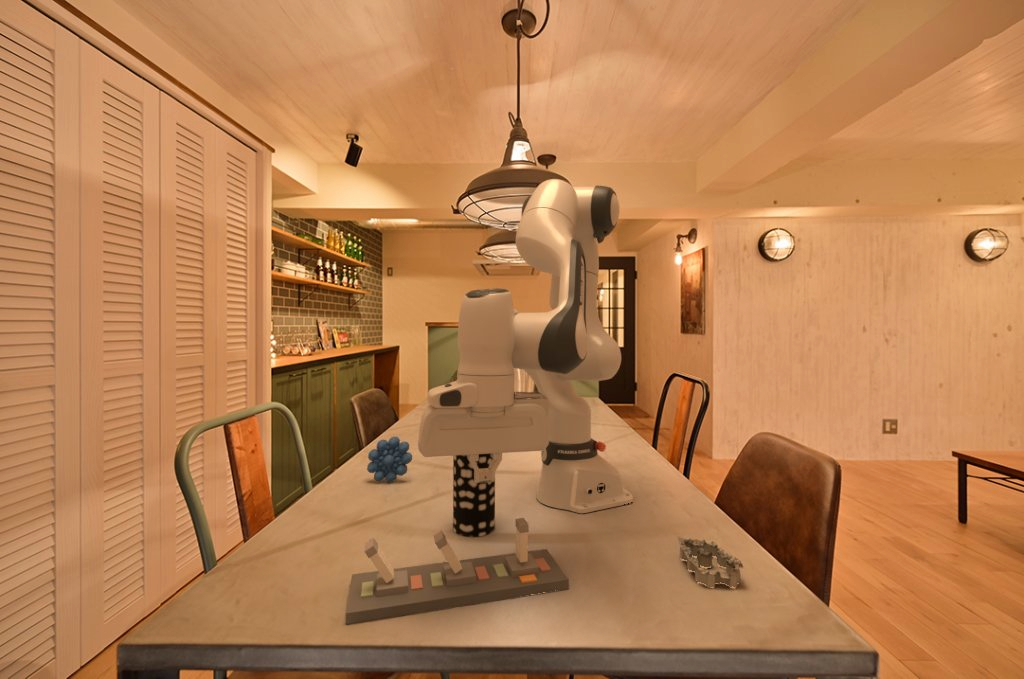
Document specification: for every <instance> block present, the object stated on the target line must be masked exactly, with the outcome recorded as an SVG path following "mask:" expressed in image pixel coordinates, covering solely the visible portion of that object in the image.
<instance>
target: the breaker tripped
mask: <svg viewBox="0 0 1024 679" xmlns="http://www.w3.org/2000/svg"><path fill="white" fill-rule="evenodd" d="M529 526H530V525H529V523H528V522H527V520H526V519H525V517H520V518H515V528H516V529H515V534H516V535H515V538H516V539H515V540H516V541H515V542H516V543H515V545H516V546H515V553H516V556H517V557H518V559H519V561H520V562H527V561H528V551H529V550H528V549H529V547H528V545H529V541H528V539H529V538H528V536H529V532H530V531H529V530H530V529H529V528H530V527H529Z"/></svg>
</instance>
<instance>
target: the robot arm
mask: <svg viewBox="0 0 1024 679" xmlns="http://www.w3.org/2000/svg"><path fill="white" fill-rule="evenodd" d="M620 210H621V208H620V202H619V199H618V196H617V193H616V192H615V190H614V189H613V188H612V187H610V186H607V185H595V186H572V184H570V183H569V182H567V181H565V180H562V179H558V178H552V179H546V180H544V181H542V182H541V183H539V184H538V186H537V187H536V188H535V189H534V191H533V193H532V194H530V195H529V196H527V198H525V200H524V201H523V203H522V207H521V217H520V220H519V223H518V226H517V229H516V234H515V246H516V249H517V252H518V254H519V256H520V258H522V260H523V261H524V262H525V263H526V264H528V265H529V266H530V267H531V268H533V269H534V270H536V271H539V272H542V273H545V274H550V275H551V279H550V289H549V290H550V291H549V301H548V302H549V306H550V309H551V310H549V311H546V312H545V311H544V312H522V311H521V312H519V310H517V309H515V308H514V302H513V297H512V292H511V291H510V290H508V289H505V288H497V287H496V288H486V289H485V288H484V289H475V290H471V291H468V292H467V293H465V294H464V295H463V297H462V301H461V305H460V308H459V309H460V310H459V316H458V324H457V326H458V327H457V328H458V329H457V347H458V351H459V356H460V357H459V364H458V367H457V371H456V372H457V374H456V375H457V376H456V378H457V379H456V380H455V381H451V382H448V383H445V384H443V385H442V384H441V385H439V386H435V387H433V388H430V389H429V390H428V392H427V402H428V404H429V405H427V406H426V407H425V408H424V410H423V412H422V414H421V419H420V423H419V430H418V440H417V441H418V444H417V446H418V452H420V454H421V455H422V457H425V458H432V457H433V458H435V457H453V456H455V455H467V458H468V460H469V462H470V464H471V465H472V467H473V469H474V481H475V483H483V482H494V481H495V482H496V471H497V469H498V468H499V466H500V464H501V462H502V461H503V454H507V453H524V452H525V453H527V452H540V458H541V462H542V466H541V467H542V468H541V474H540V481H539V485H538V489H537V493H536V496H535V497H536V499H537V501H538V502H539V503H541V504H543V505H545V506H548V507H551V508H555V509H560V510H567V511H571V512H574V513H578V514H587V513H591V512H595V511H596V512H597V511H600V510H605V509H609V508H614V507H619V506H625V505H628V503H629V504H632V503H631V502H634V498H633V497H634V496H633V494H632V493H631V492H630V491H629V490H628V489H627V488H625V487H624V486H623V480H622V476H621V473H620V471H619V470H618V469H617V468H616V467H614V466H613V465H612V464H611V463H609V461H607V460H606V459H605V458H604V457H602V456H601V455H600V454H598V453H599V452H603V453H604V452H605V451H606V449H607V445H606V444H605V443H604V442H602V441H597V440H595V439H594V438H592V437H591V436H592V435H591V433H592V428H591V427H592V409H591V406H590V404H589V402H588V401H587V400H586V399H585V398H583V397H582V396H580V395H579V394H578V392H577V391H576V390H575V387H574V386H573V382H572V381H578V382H579V381H580V382H589V383H591V382H592V383H593V382H601V381H606V380H610V379H612V378H614V377H615V375H617V373H618V371H619V369H620V366H621V364H622V352H621V348H620V346H619V344H618V343H617V341H616V340H615V339H614V338H613V337H612V336H611V335H610V334H608V331H606V330H605V328H604V327H603V324H602V323H601V320H600V318H599V317H600V316H599V312H598V283H599V272H600V270H599V269H600V261H599V259H600V258H599V247H598V244H601V243H603V242H604V240H605V238H606V237H608V236H609V235H611V233H612V232H613V230H614V229H615V228H616V226H617V223H618V220H619V216H620ZM515 369H519V370H523V371H524V372H525V373H526V374H527V375H528V376H529V377H530V378H531V380H532V382H533V383H534V384H535V387H536V389H537V391H515ZM598 451H599V452H598ZM479 454H490V456H491V457H492V458H493V460H492V462H491V463H490V465H489V467H488V468H483V469H479V468H478V466H477V465H476V463H475V461H478V460H479ZM624 504H625V505H624Z"/></svg>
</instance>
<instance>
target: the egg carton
mask: <svg viewBox="0 0 1024 679" xmlns="http://www.w3.org/2000/svg"><path fill="white" fill-rule="evenodd" d="M677 540H678V544H679V559H680V558H681V559H684V560H687V563H686V569H687V568H688V569H689V570H692V571H695V574H694V580H695V579H696V580H697V582H701V583H704V584H706V585H707V586H708V587H715V588H716V585H715V583H720V582H721V583H725V584H727V585H729V586H730V587H732V586H733V587H738V585H737V583H739V582H741V576H742V575H741V571H740V569H744V565H743V563H742V560H739V558H737V557H736V556H732V555H730V554H729V552H728V551H726V550H724V549H722V548H721V547H719V546H718V544H717V543H716V542H715V541H711V542H706V539H702V540H699V539H692V538H691V537H689V539H688V538H687V539H686V538H684V537H680V536H678V537H677ZM692 555H693V556H697V558H694V557H692ZM712 556H716V557H717V559H716V564H717V563H718V564H719V565H720V566H723V567H726V569H725V572H723V571H719V570H716V571H715V572H714V573H715V574H710V573H711V572H710V570H708V569H705V568H700V565H701V566H704V567H710V566H712V567H713V564H712V563H713V558H712Z"/></svg>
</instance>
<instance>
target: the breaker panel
mask: <svg viewBox="0 0 1024 679" xmlns="http://www.w3.org/2000/svg"><path fill="white" fill-rule="evenodd" d="M459 561H460V564H461V567H462V569H461V570H460V571H459V572H457V573H456V574H455V573H454V571H453V569H452V568H451V566H450V565H449V563H448V561H444V562H443V561H442V562H438V563H437V562H434V563H429V564H419V565H414V566H412V565H411V566H406V567H398V568H393V569H394V579H392V580H391V581H389V582H388V583H386V582H385V580H384V579H383V577H382V576H381V574H380V573H379V571H378V570H375V571H367V572H361V573H360V572H359V573H352V574H351V579H350V586H349V591H348V598H347V599H348V600H347V606H346V611H345V612H346V613H345V625H350V624H357V623H363V622H369V621H370V622H371V621H376V620H382V619H388V618H389V619H390V618H395V617H401V616H409V615H414V614H421V613H427V612H433V611H439V610H440V611H441V610H446V609H447V610H448V609H452V608H458V607H465V606H471V605H478V604H483V603H484V604H485V603H490V601H491V602H496V601H503V600H509V598H510V599H516V598H515V597H517V598H521V597H520V596H523V597H527V596H526V595H529V596H532V595H531V594H536V595H539V594H538V593H542V594H544V593H543V592H548V593H552V592H551V591H555V590H556V591H555V592H558V591H557V590H561V591H566V589H567V590H569V588H570V584H569V583H570V580H569V578H568V577H567V576H568V575H566V574H565V572H564V571H563V569H562V568H561V566H560V565H559V564H558V562H557V561H556V559H554V557H553V555H551V553H550V551H549V550H548V549H547V548H542V549H537V550H536V549H535V550H528V561H527V562H520V561H519V559H518V557H517V556H516V552H512V553H505V554H498V555H497V554H496V555H490V556H489V555H488V556H484V557H483V556H481V557H474V558H467V559H459ZM564 589H565V590H564Z"/></svg>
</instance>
